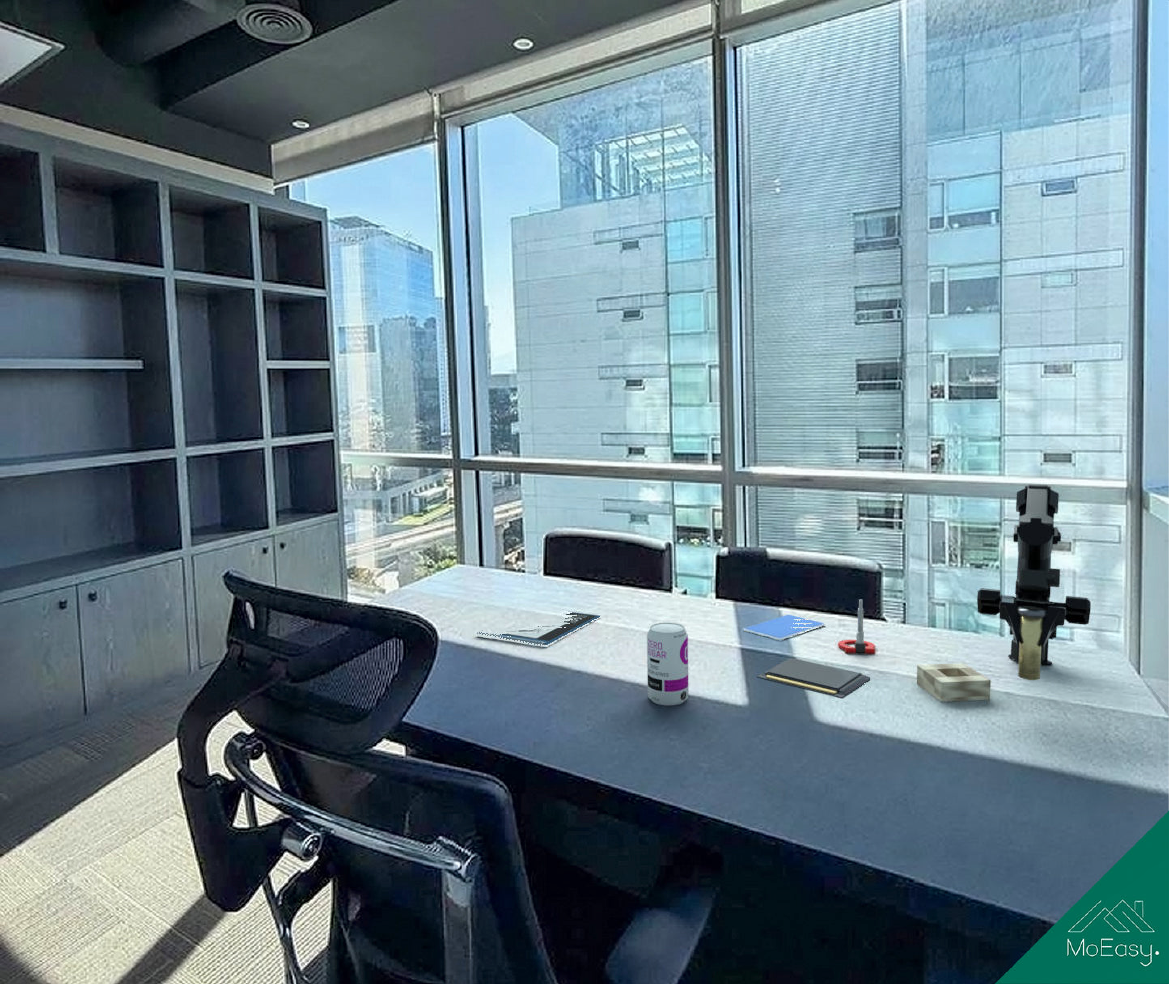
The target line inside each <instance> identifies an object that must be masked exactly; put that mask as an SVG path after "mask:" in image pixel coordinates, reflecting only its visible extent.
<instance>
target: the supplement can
mask: <svg viewBox="0 0 1169 984" xmlns="http://www.w3.org/2000/svg"><path fill="white" fill-rule="evenodd" d="M688 635H689V634H688V633H687V630H686V628H685V625H682V624H680V623H676V622H657V623H654V624H651V625H650V626H649V630H648V631H647V633H646V647H647V648H646V655H647V659H646V661H647V662H646V664H647V666H646V667H647V669H646V670H647V672H646V673H647V696H648V697H647V698H649V699H650V701H651V702H652V703H654V704H657V705H660V706H668V707H669V706H677V705H681V704H683V703H685V701H686V700H688V698H689V636H688Z"/></svg>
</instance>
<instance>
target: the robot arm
mask: <svg viewBox="0 0 1169 984" xmlns="http://www.w3.org/2000/svg"><path fill="white" fill-rule="evenodd" d="M1051 487H1052V486H1051V485H1050V486H1049V485H1048V484H1028V485H1025V486H1024V488H1023V489H1021V490H1018V491H1017V492H1016V500H1015V513H1019V518H1018V524H1014V530H1013V542H1012V543H1017V552H1018V554H1017V568H1016V569H1017V570H1016V581H1015V588H1014V590H1015V591H1014V592H1015V593H1014V594H1015V596H1014V595H1005V594H1004V595H1003V594H1001V589H993V588H983V587H982V588H980V589H979V590H977V595H976V600H977V602H976V603H977V604H976V605H977V613H978V614H980V615H990V616H997V615H998V614H999V619H1000V620H1005V621H1006V623H1007V624H1008V627H1009V635H1012V637H1013V639H1011V640H1010V641H1011V642H1010V643H1011V644H1010V648H1011V649H1010V654H1008V655H1007V656H1008V658H1010V659H1012V660H1013V661H1016V662H1017V663H1018V664H1019V642H1020V619H1021V615H1020V614H1018V607H1021V606H1034V607H1039V608H1043V609H1045V610H1046V616H1045V617H1043V623H1042V638H1041V665H1040V666H1052V665H1053V661H1050V660H1049V659H1048V658H1049V641H1050V640H1053V639H1056V638H1057V630H1058V629H1057V628H1058V627H1059V626H1060V627H1061V626H1064V625H1065V621H1066V622H1067V623H1068V624H1073V625H1084V626H1086V625H1089V623H1090V617H1091V610H1092V609H1091V607H1092V606H1091V604H1092V603H1091V600H1090V599H1089V598H1088V597H1081V596H1071V595H1070V596H1069V595H1065V601H1064V602H1057V601H1050V600H1051V599H1050V598H1051V590H1052V589H1051V588H1059V587H1060V584H1061V582H1060V581H1061V569H1059V568H1051V567H1052V566H1051V565H1052V553H1053V551H1052V550H1053V545H1056V546H1057V545H1058V543H1059V542H1060V543H1061V542H1062V533H1061V532H1060V531H1059V528H1058V527H1057V526H1055V527H1054V521H1055V520H1054V519H1055V514H1056V515H1057V514H1058V511H1059V502H1060V501H1059V499H1060V493H1059V492H1057V491H1056V490H1055V491H1054V490H1053V489H1051Z"/></svg>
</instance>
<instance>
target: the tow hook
mask: <svg viewBox="0 0 1169 984" xmlns="http://www.w3.org/2000/svg"><path fill="white" fill-rule="evenodd" d="M863 603H864V602H863V599H858V608H857V631H856V635H855V636H856V639H843V640H840V641H838V643H837V647H838V648H840V649H841V650H844V652H845V654H855V653H858V654H857V655H875V654H876V645H875V643H873V642H871V641H867V640H865V633H864V608H863ZM846 644H847V645H846ZM850 645H854V646H850Z"/></svg>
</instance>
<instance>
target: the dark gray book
mask: <svg viewBox="0 0 1169 984" xmlns="http://www.w3.org/2000/svg"><path fill="white" fill-rule="evenodd" d="M756 678H757V679H761V680H765V681H770V682H774V683H778V684H780V685H781V684H782V685H785V686H786V685H787V686H790V687H794V688H798V689H803V690H806V691H809V692H810V691H811V692H814V693H818V694H821V695H825V696H826V695H827V696H830V697H835V698H838V699H839V698H840V699H845V697H847V696H849V695H850V694H852V693H854V692H855V691H857V690H858V689H860V688H862V687H863V686H864V685H865V684H864V683H866V682H867V683H868V682H870V681H871V680H870V678H871V677H870V676H867V675H865V674H862V673H861V672H858V671H852V670H847V669H843V668H839V667H834V666H830V665H826V664H821V663H815V662H812V661H808V660H803V659H799V658H794V657H791V658H788V659H786V660H784V661H782V662H780V663H779V664H777V665H776V666H774V667H772V668H770V669H769V670H765V672H763V673H761V674H759V675H757V676H756ZM867 683H866V684H867ZM862 685H863V686H862ZM859 687H860V688H859ZM853 691H854V692H853Z"/></svg>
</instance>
